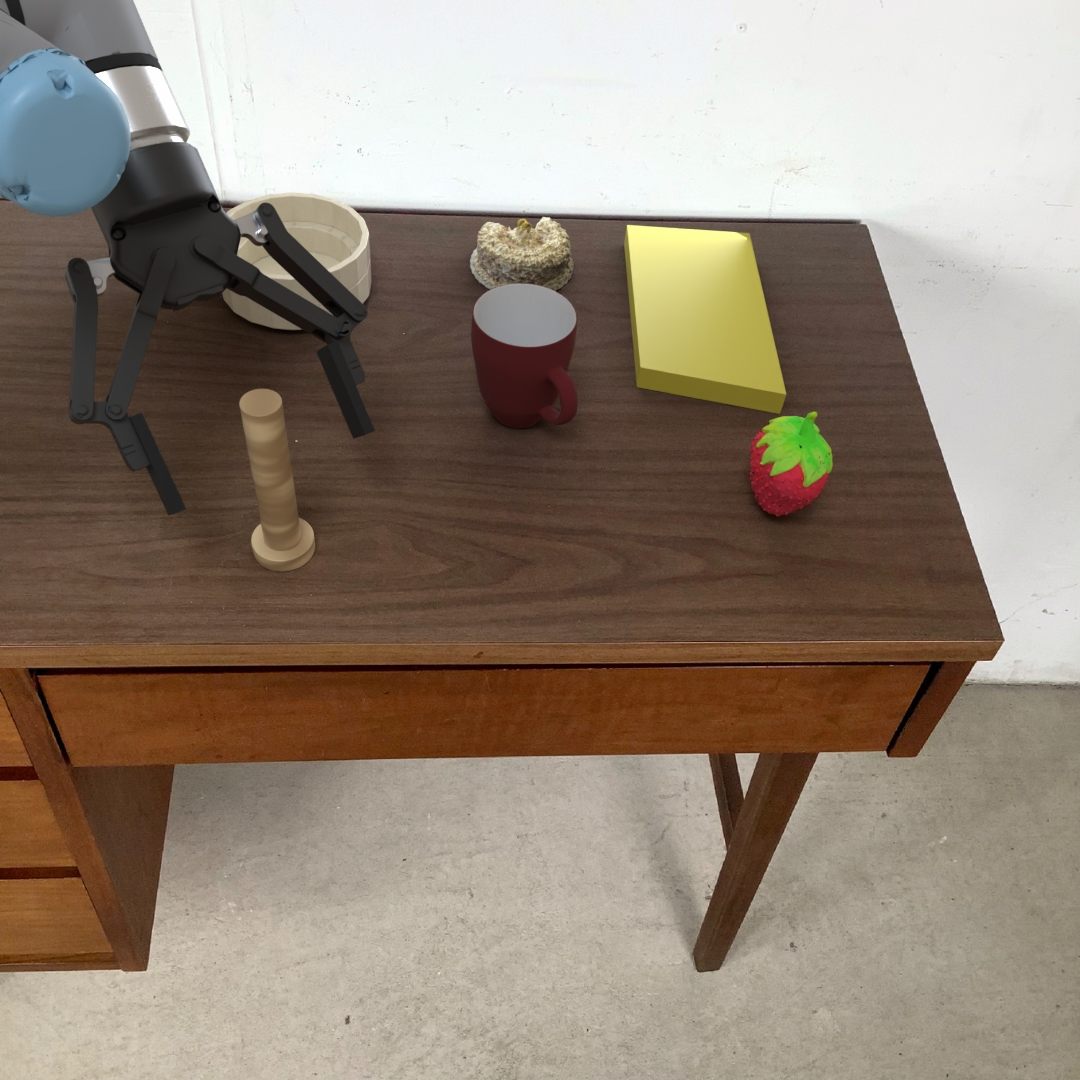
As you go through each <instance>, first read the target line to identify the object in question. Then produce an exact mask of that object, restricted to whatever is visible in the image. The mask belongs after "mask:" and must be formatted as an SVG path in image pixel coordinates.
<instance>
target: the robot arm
mask: <svg viewBox="0 0 1080 1080" xmlns="http://www.w3.org/2000/svg"><path fill="white" fill-rule="evenodd" d="M169 83H170V82H169V81H168V79H167V77H166V74H165V73H164V70H163V68H162V66H161V63H160V62H159V57H158V55H157V53H156V51H155V48H154V46H153V44H152V41H151V39H150V36H149V34H148V32H147V30H146V27H145V25H144V23H143V20H142V18H141V15H140V13H139V10H138V8H137V6H136V3H135V1H134V0H0V197H1V198H2V199H6V200H8V201H10V202H12V203H13V204H15V205H17V206H19V207H20V208H22V209H24V210H26V211H29V212H30V213H34V214H37V215H40V216H47V217H67V216H73V215H76V214H80V213H83V212H85V211H87V210H89V209H91V211H92V214H93V216H94V218H95V220H96V222H97V225H98V226H99V229H100V231H101V233H102V235H103V237H104V239H105V242H106V244H107V248H108V257H102V258H96V259H90V260H85V259H84V258H81V257H73V258H71V259H70V260H69V261H68V263H67V266H66V270H65V273H64V277H65V281H66V285H67V287H68V290H69V293H70V297H71V300H72V302H73V320H72V321H73V322H72V341H71V342H72V343H71V361H70V363H71V364H70V365H71V366H70V383H69V401H68V402H69V403H68V418H69V419H70V421H71V422H72V423H73V424H75V425H79V426H81V425H85V424H86V425H87V424H88V425H89V424H91V425H92V424H93V425H94V424H98V425H103V426H104V427H106V428H107V429H108V430H109V432H110V434H111V437H112V439H113V442H115V445H116V447H117V449H118V451H119V453H120V456H121V457H122V460H123V462H124V464H125V466H126V467H127V468H128V469H129V470H130V471H131V472H132V473H135V472H137V471H139V470H141V469H146V470H147V473H148V475H149V477H150V479H151V481H152V483H153V486H154V487H155V490H156V492H157V494H158V496H159V499H160V501H161V503H162V505H163V507H164V509H165V512H166V514H167V516H172V515H176V514H178V513H182V512H183V511H186V510H187V507H186V505H185V503H184V501H183V499H182V497H181V494H180V492H179V490H178V488H177V486H176V483H175V480H173V477H172V475H171V473H170V471H169V468H168V466H167V464H166V461H165V459H164V457H163V455H162V453H161V450H160V448H159V447H158V445H157V443H156V440H155V438H154V436H153V433H152V431H151V429H150V427H149V424H148V422H147V420H146V419H145V416H144V414H143V412H139V413H137V414H134V415H131V416H129V414H128V409H129V406H130V402H131V399H132V397H133V393H134V390H135V386H136V383H137V382H138V381H137V380H138V377H139V374H140V371H141V368H142V365H143V362H144V358H145V355H146V352H147V349H148V346H149V342H150V339H151V337H152V333H153V330H154V327H155V324H156V321H157V318H158V316H159V313H160V311H161V309H164V310H168V311H169V310H170V311H173V312H177V311H180V310H184V309H186V308H187V307H189V306H191V305H192V304H193V303H195V302H207V301H210V300H211V301H212V300H214V299H217V298H219V297H220V296H221V295H223V294H222V293H223V292H224V291H225V290H226V289H229V290H231V291H232V292H234V293H236V294H238V295H240V296H245V297H247V298H249V299H251V300H252V301H254V302H256V303H257V304H259V305H261V306H263V307H264V308H266V309H268V310H270V311H271V312H273V313H275V314H276V315H278V316H280V317H282V318H283V319H285V320H287V321H288V322H290V323H292V324H294V325H295V326H297V327H299V328H301V329H302V330H301V331H304V332H306V333H307V334H309V335H311V336H313V337H314V338H316V339H318V340H320V341H321V342H322V343H325V344H326V345H324V346H323V347H321V348H320V349H318V350H316V351H315V352H316V354H317V357H318V360H319V362H320V364H321V366H322V369H323V371H324V374H325V375H326V376H325V377H326V378H327V381H328V384H329V385H330V388H331V390H332V392H333V394H334V397H335V399H336V402H337V405H338V407H339V409H340V411H341V413H342V416H343V418H344V421H345V423H346V424H347V425H346V426H347V428H348V430H349V433H350V435H351V437H352V440H354V439H357V438H360V437H363V436H366V435H369V434H371V433H374V432H375V431H376V430H375V427H374V425H373V423H372V420H371V418H370V414H369V413H368V411H367V408H366V406H365V404H364V401H363V398H362V396H361V394H360V392H359V390H358V386H357V385H360V384H362V383H364V382H365V381H366V379H365V378H366V377H365V371H364V369H363V366H362V365H361V362H360V360H359V359H360V358H359V357H358V355H357V354H358V353H357V352H356V350H355V347H354V345H353V343H352V340H351V335H352V332H353V330H354V329H355V328H356V327H357V326H358V325H359V324H361V323H362V322H363V321H364V320H365V319H367V317H368V314H369V311H368V308H367V306H366V305H365V304H364V303H363V304H362V303H361V302H360V301H359V300H358V299H357V298H356V297H355V296H354V295H353V294H352V293H351V292H350V291H349V290H348V289H347V288H346V287H345V286H344V285H343V284H342V283H341V282H339V281H338V280H337V279H336V278H335V277H334V276H333V275H332V274H331V273H330V272H329V271H328V270H327V269H326V268H325V267H324V266H323V265H322V264H321V263H320V262H319V261H318V260H317V259H316V258H314V257H313V256H312V255H311V254H310V253H309V252H308V251H307V250H306V249H305V248H304V247H303V246H302V245H301V244H300V243H299V242H298V241H297V240H296V239H295V238H294V237H293V236H292V235H291V234H289V233H288V232H287V230H286V228H285V226H284V224H283V222H282V221H281V219H280V217H279V215H278V213H277V211H276V210H275V208H274V207H273V205H271V204H270V203H266V202H265V203H262V204H260V205H259V206H258V208H257V209H256V210H255V211H254V212H252V213H249V214H247V215H245V216H242V217H240V218H238V219H236V220H233V219H231V218H230V217H229V216H228V215H227V214H226V213H227V212H226V211H225V210H224V208H223V206H222V204H221V201H220V199H219V196H218V194H217V192H216V189H215V187H214V184H213V183H212V179H211V177H210V176H209V173H208V170H207V169H206V166H205V164H204V161H203V159H202V157H201V155H200V153H199V150H198V148H197V147H196V146H193V145H192V144H191V143H188V140H189V138H190V136H191V130H190V128H189V126H188V123H187V121H186V119H185V117H184V115H183V113H182V110H181V108H180V106H179V104H178V101H177V98H176V97H175V95H174V93H173V90H172V88H171V85H170V84H169ZM241 237H245V238H247V239H249V240H250V241H251V242H252V243H253V244H254V245H256V246H263V248H264V249H265V250H266V251H267V253H268V254H269V255H270V256H271V257H272V258H273V259H274V260H275V261H276V262H277V263H278V264H279V265H280V266H281V267H282V268H283V269H285V270H286V271H287V272H288V273H289V274H290V275H291V276H292V277H293V278H294V279H295V280H296V281H297V282H298V283H299V284H300V285H302V286H303V287H304V288H305V289H306V290H307V291H308V292H309V293H310V294H311V295H312V296H313V297H314V298H315V299H316V300H317V301H319V302H320V303H321V304H322V305H323V306H324V307H325V308H326V309H327V310H328V311H329V312H330V313H331V314H330V313H328V312H326V311H325V310H323V309H321V308H320V307H318V306H316V305H315V304H313V303H311V302H310V301H308V300H306V299H305V298H303V297H301V296H300V295H298V294H296V293H294V292H293V291H291V290H289V289H288V288H286V287H284V286H283V285H281V284H279V283H278V282H276V281H274V280H273V279H271V278H269V277H268V276H266V275H264V274H263V273H261V272H260V270H259V269H258V268H257V267H255V266H254V265H252V264H251V263H249V262H247V261H245V260H244V259H242V258H240V257H239V256H237V253H238V248H239V244H240V239H241ZM111 277H114V278H115V279H116V280H117V281H118V282H120V283H122V284H123V285H124V286H127V287H128V288H130V289H131V290H133V291H134V292H135V293H137V294H138V297H137V300H136V303H135V305H134V310H133V313H132V315H131V319H130V323H129V327H128V330H127V333H126V336H125V339H124V342H123V345H122V349H121V351H120V354H119V357H118V360H117V362H116V363H117V364H116V366H115V370H114V372H113V373H114V374H113V376H112V379H111V382H110V385H109V389H108V392H107V395H106V398H105V401H102V400H99V401H96V400H95V384H96V383H95V382H96V366H97V365H96V363H97V362H96V361H97V345H98V344H97V341H98V323H99V297H101V296H103V295H104V294H105V292H106V290H107V287H108V285H107V283H108V281H107V280H108V279H109V278H111Z"/></svg>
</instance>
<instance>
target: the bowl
mask: <svg viewBox="0 0 1080 1080" xmlns="http://www.w3.org/2000/svg"><path fill="white" fill-rule="evenodd" d="M265 202H266V203H270V204H271V205H273V207H274V208H275V210H276V211H277V213H278V215H279V217H280V219H281V221H282V222H283V224H284V226H285V228H286V230H287V232H288V233H289V234H291V235H292V236H293V237H294V238H295V239H296V240H297V241H298V242H299V243H300V244H301V245H302V246H303V247H304V248H305V249H306V250H307V251H308V252H309V253H310V254H311V255H312V256H313V257H314V258H316V259H317V260H318V261H319V262H320V263H321V264H322V265H323V266H324V267H325V268H326V269H327V270H328V271H329V272H330V273H331V274H332V275H333V276H334V277H335V278H336V279H337V280H338V281H339V282H341V283H342V284H343V285H344V286H345V287H346V288H347V289H348V290H349V291H350V292H351V293H352V294H353V295H354V296H355V297H356V298H357V299H358V300H359V301H360V302H361V303H362V304H363V305H364V303H365V301H366V300H367V299H368V298H369V296H370V293H371V287H372V281H373V279H372V262H371V246H370V243H371V242H370V231H369V229H368V226H367V224H366V223H367V222H366V221H365V219H364V217H362V216H361V214H359V213H358V212H357V211H356V210H355V209H354V208H353V207H352V206H349V205H347V204H345V203H343V202H341V201H339V200H338V199H335V198H331V197H329V196H323V195H318V194H316V193H315V194H314V193H306V192H305V193H302V192H283V193H273V194H266V195H262V196H259V197H255V198H252V199H249V200H245V201H244V202H242V203H240V204H238V205H236V206H234V207H233V208H231V209H229V210H227V212H225V213H226V214H227V215H228V216H229V217H230V218H231V219H233V220H236V219H238V218H240V217H242V216H245V215H247V214H249V213H252V212H254V211H255V210H256V209H257V208H258V206H259V205H260V204H262V203H265ZM237 256H239V257H240V258H242V259H244V260H245V261H247V262H249V263H251V264H252V265H254V266H255V267H257V268H258V269H259V270H260V272H261V273H263V274H264V275H266V276H268V277H269V278H271V279H273V280H274V281H276V282H278V283H279V284H281V285H283V286H284V287H286V288H288V289H289V290H291V291H293V292H294V293H296V294H298V295H300V296H301V297H303V298H305V299H306V300H308V301H310V302H311V303H313V304H315V305H316V306H318V307H320V308H321V309H323V310H325V311H326V312H328V313H330V312H329V311H328V310H327V309H326V308H325V307H324V306H323V305H322V304H321V303H320V302H319V301H317V300H316V299H315V298H314V297H313V296H312V295H311V294H310V293H309V292H308V291H307V290H306V289H305V288H304V287H303V286H302V285H300V284H299V283H298V282H297V281H296V280H295V279H294V278H293V277H292V276H291V275H290V274H289V273H288V272H287V271H286V270H285V269H283V268H282V267H281V266H280V265H279V264H278V263H277V262H276V261H275V260H274V259H273V258H272V257H271V256H270V255H269V254H268V253H267V251H266V250H265V249H264V248H263V246H256V245H254V244H253V243H252V242H251V241H250V240H249V239H247V238H245V237H241V239H240V244H239V248H238V253H237ZM221 295H222V298H223V300H224V302H225V303H226V304H227V306H228V307H229V308H230V309H231V310H232V311H233V313H235V314H236V315H238V316H240V317H241V318H243V319H245V320H247V321H248V322H249V323H254V324H257V325H261V326H264V327H267V328H271V329H277V330H286V331H303V330H302V329H301V328H299V327H297V326H295V325H294V324H292V323H290V322H288V321H287V320H285V319H283V318H282V317H280V316H278V315H276V314H275V313H273V312H271V311H270V310H268V309H266V308H264V307H263V306H261V305H259V304H257V303H256V302H254V301H252V300H251V299H249V298H247V297H245V296H240V295H238V294H236V293H234V292H232V291H231V290H229V289H226V290H225V291H224V292H223V293H222V294H221ZM330 314H331V313H330Z"/></svg>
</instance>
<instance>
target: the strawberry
mask: <svg viewBox="0 0 1080 1080" xmlns="http://www.w3.org/2000/svg"><path fill="white" fill-rule="evenodd" d="M817 417H818V412H817V411H812V412H809V413H807V415H805V417H802V416H799V415H786V416H785V415H784V416H783V415H782V416H780V417H776V418H773V419H769V420H768V423H767V424H766V425H764V427H762V429H760V430H758V432H757V433H756V434H755V436H754V437H753V441H751V442H750V443H751V445H750V446H749V448H750V450H749V453H750V455H751V456H750V458H749V460H750V461H751V462H750V463H749V465H750V467H749V470H751V471H750V472H749V476H750V477H749V481H750V483H751V485H750V486H751V488H750V489H751V490H752V491H753V493H754V499H756V500H757V505H758V506H760V508H761V509H762V511H765V512H766V513H767V514H768V515H775V516H776V517H781V516H783V515H785V516H786V515H788V514H790V513H795V512H796V511H797V510H802V509H803V508H804V507H807V506H808V505H812V501H813V500H814V499H816V498H818V497H820V493H822V491H823V490H825V485H826V484H827V482H829V474H830V473H832V469H833V466H834V464H833V463H834V462H833V458H834V457H833V454H832V448H831V446H830V445H829V444H828V442H827V441H826V440H825V439H824V437H823V436H822V435H821V434H820V432H821V430H820V428H819V427H818V426H817V425H816V424H815V420H816V418H817Z"/></svg>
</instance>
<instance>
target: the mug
mask: <svg viewBox="0 0 1080 1080" xmlns="http://www.w3.org/2000/svg"><path fill="white" fill-rule="evenodd" d="M471 311H472V312H471V326H470V327H471V328H470V329H471V330H470V341H471V351H472V356H473V361H474V366H475V370H476V371H475V373H476V377H477V382H478V383H477V384H478V388H479V392H480V394H481V397H482V399H483V401H484V403H485V404H486V406H487V408H488V409H489V411H490V412H491V413H492V415H493V417H494V418H495V419H496V421H498V422H499V423H500V424H501V425H503V426H506V427H508V428H512V429H525V428H529V427H532V426H534V425H536V424H537V423H539V421H540V420H541V419H542V418H543V419H544V420H545V421H547V422H548V423H549V424H552V425H555V426H562V425H566V424H568V423H570V422H571V421H572V420H574V418H575V417H576V415H577V412H578V407H579V399H578V393H577V388H576V386H575V383H574V381H573V378H572V377H571V376H570V375H569V373H568V370H569V366H570V364H571V361H572V358H573V354H574V350H575V347H576V338H577V331H578V330H577V329H578V313H577V310H576V308H575V307H574V305H573V303H572V301H570V300H569V299H568V298H567V297H565V295H563V294H561V293H560V292H558V291H557V290H556V291H554V290H552V289H549V288H547V287H543V286H540V285H535V284H527V283H514V284H506V285H502V286H498V287H495V288H493V289H488V290H487V291H485V292H484V293H482V294H481V295H480V296H479V297H478V298H477V299H476V301H475V303H473V307H472V310H471ZM558 397H559V401H560V402H559V403H560V411H558V410H556V409H555V408H553V406H554V404H555V403H556V401H557V399H558Z"/></svg>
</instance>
